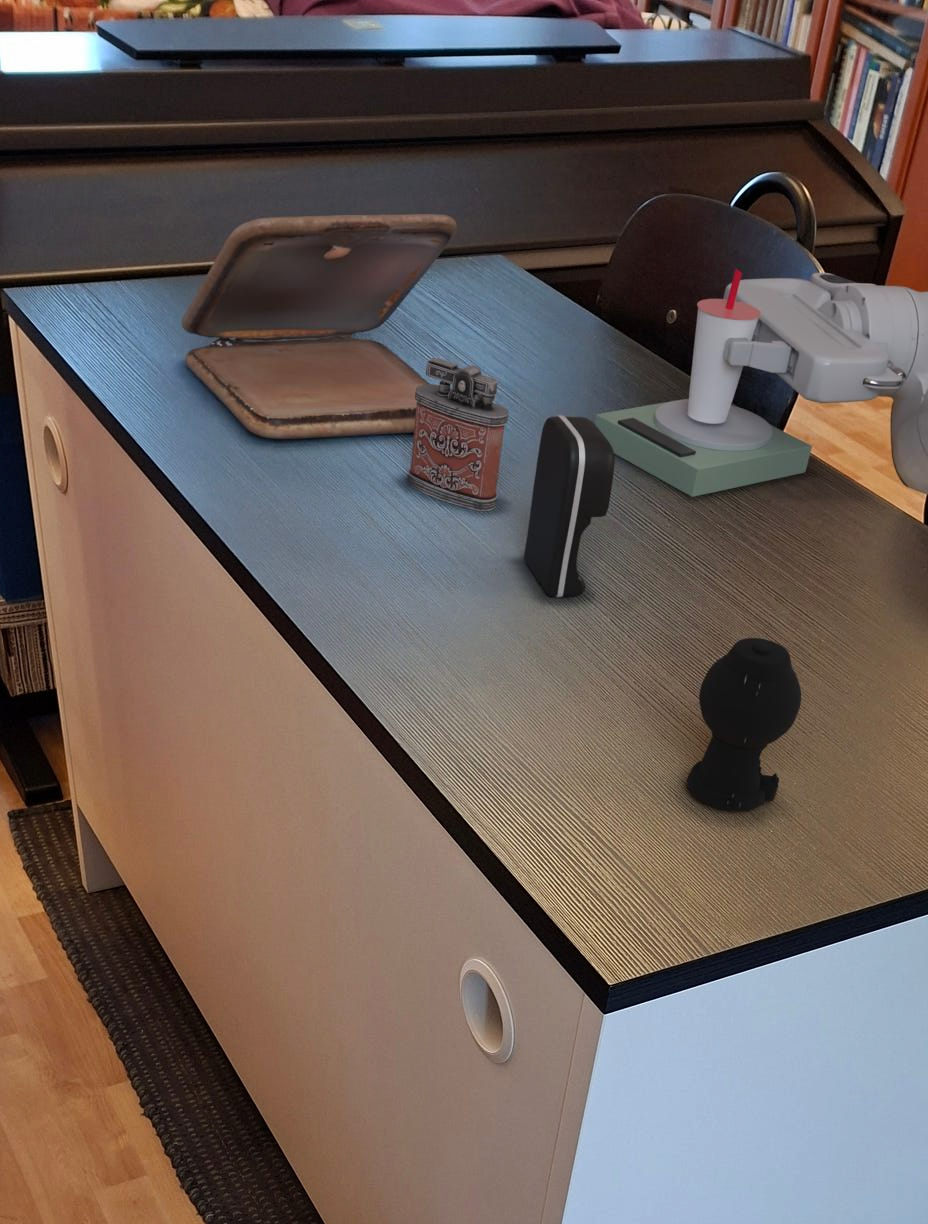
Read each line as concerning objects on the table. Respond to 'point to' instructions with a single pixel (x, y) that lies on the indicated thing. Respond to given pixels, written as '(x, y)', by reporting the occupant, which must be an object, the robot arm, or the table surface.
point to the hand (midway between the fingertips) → (713, 338)
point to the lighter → (457, 436)
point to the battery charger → (566, 499)
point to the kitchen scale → (702, 447)
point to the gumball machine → (744, 723)
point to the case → (313, 322)
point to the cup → (718, 354)
